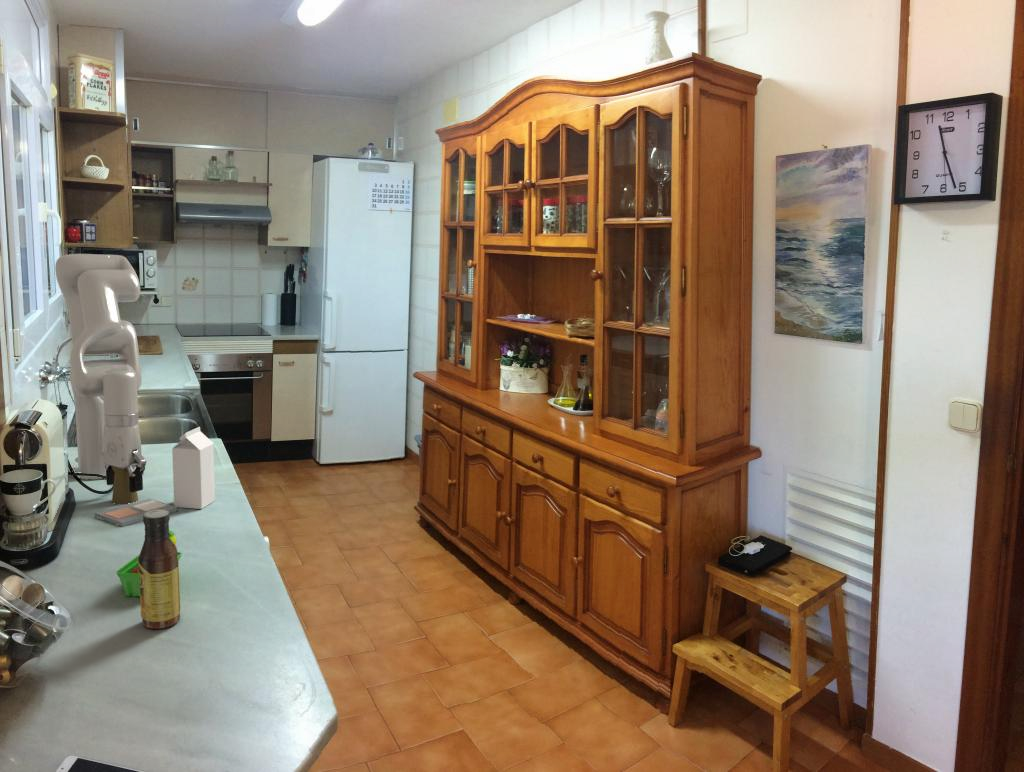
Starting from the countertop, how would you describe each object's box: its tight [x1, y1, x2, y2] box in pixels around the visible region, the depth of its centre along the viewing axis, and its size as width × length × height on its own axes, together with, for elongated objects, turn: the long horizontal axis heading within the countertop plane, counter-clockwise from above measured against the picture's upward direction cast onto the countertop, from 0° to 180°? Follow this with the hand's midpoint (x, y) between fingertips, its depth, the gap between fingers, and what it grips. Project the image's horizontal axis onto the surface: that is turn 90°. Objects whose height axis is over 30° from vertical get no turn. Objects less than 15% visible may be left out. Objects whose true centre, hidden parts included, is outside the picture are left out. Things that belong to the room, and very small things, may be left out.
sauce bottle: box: [138, 510, 182, 630], centre depth 136 cm, size 6×6×20 cm
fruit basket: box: [116, 529, 182, 597], centre depth 151 cm, size 11×9×11 cm
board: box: [94, 498, 178, 527], centre depth 191 cm, size 11×14×1 cm
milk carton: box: [171, 426, 216, 510], centre depth 198 cm, size 7×7×19 cm
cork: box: [111, 463, 139, 505], centre depth 199 cm, size 6×6×11 cm
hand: (124, 487), depth 199 cm, fingers open, 9 cm apart
